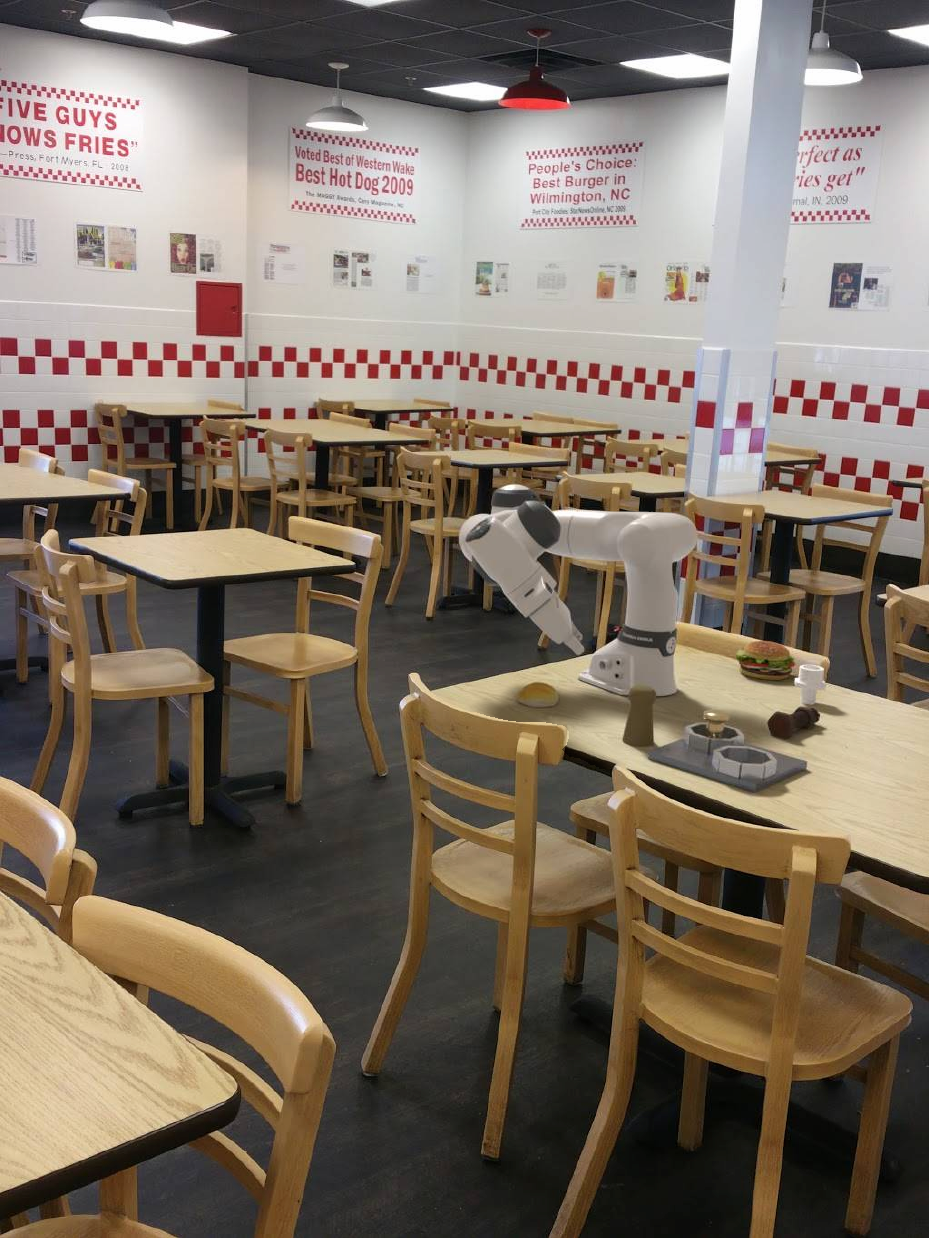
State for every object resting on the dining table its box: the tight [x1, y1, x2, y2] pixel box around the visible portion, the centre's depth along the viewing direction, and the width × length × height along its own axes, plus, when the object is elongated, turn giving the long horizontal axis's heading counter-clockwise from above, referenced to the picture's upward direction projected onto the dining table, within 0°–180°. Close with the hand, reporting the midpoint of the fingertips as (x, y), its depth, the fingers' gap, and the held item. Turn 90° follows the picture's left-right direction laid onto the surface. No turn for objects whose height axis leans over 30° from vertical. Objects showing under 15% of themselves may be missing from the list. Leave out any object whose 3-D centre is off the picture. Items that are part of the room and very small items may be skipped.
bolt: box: [767, 705, 821, 740], centre depth 241 cm, size 6×5×15 cm
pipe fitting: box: [793, 664, 827, 705], centre depth 262 cm, size 6×7×8 cm
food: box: [735, 640, 796, 681], centre depth 284 cm, size 14×14×8 cm
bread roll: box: [517, 681, 559, 708], centre depth 250 cm, size 8×9×4 cm
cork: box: [621, 685, 657, 748], centre depth 227 cm, size 6×6×11 cm
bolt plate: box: [647, 709, 808, 793], centre depth 218 cm, size 22×19×8 cm
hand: (580, 646), depth 225 cm, fingers open, 8 cm apart
